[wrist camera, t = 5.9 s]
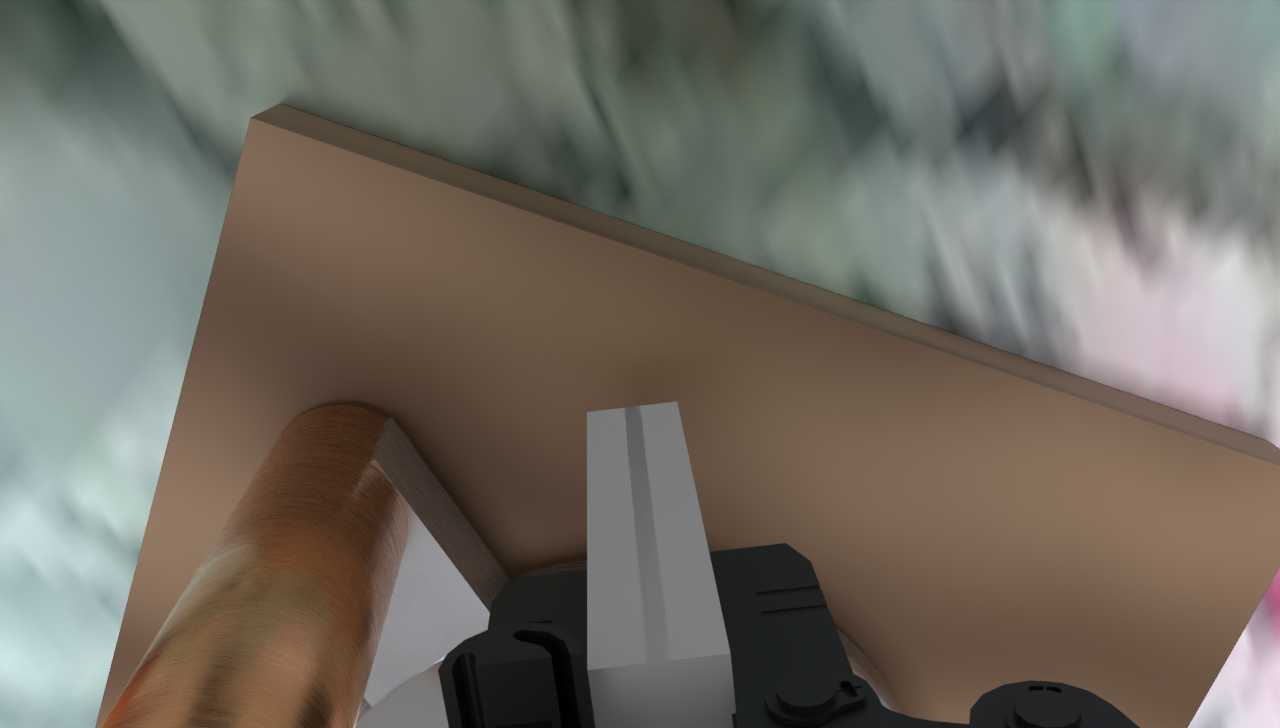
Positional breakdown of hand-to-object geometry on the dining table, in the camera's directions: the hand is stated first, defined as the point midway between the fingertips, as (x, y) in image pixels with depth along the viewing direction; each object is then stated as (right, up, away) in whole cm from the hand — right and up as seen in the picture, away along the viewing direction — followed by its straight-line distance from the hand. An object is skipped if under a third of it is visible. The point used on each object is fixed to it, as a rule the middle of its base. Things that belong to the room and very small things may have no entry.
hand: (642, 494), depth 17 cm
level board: (-1, -7, +8) cm, 10 cm away
